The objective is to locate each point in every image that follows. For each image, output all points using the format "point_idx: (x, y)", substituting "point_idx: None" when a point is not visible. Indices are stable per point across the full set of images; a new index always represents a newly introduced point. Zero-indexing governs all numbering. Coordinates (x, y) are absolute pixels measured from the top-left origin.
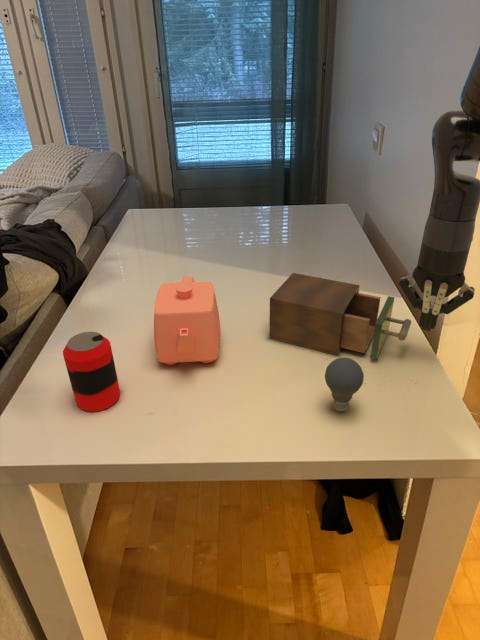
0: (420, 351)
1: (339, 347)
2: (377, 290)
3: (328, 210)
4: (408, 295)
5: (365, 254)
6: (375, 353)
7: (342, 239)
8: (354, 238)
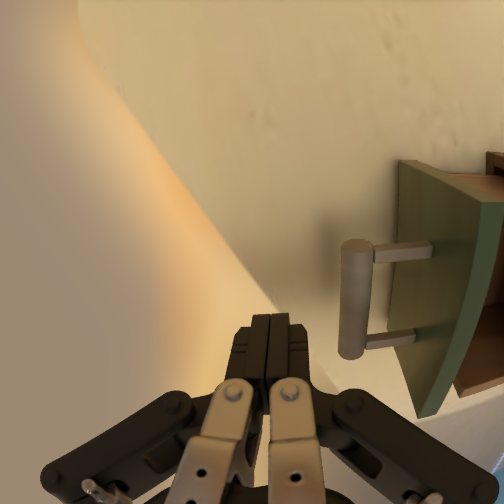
0: (284, 285)
1: (500, 164)
2: None
3: None
4: (417, 442)
5: None
6: (413, 165)
7: None
8: None
